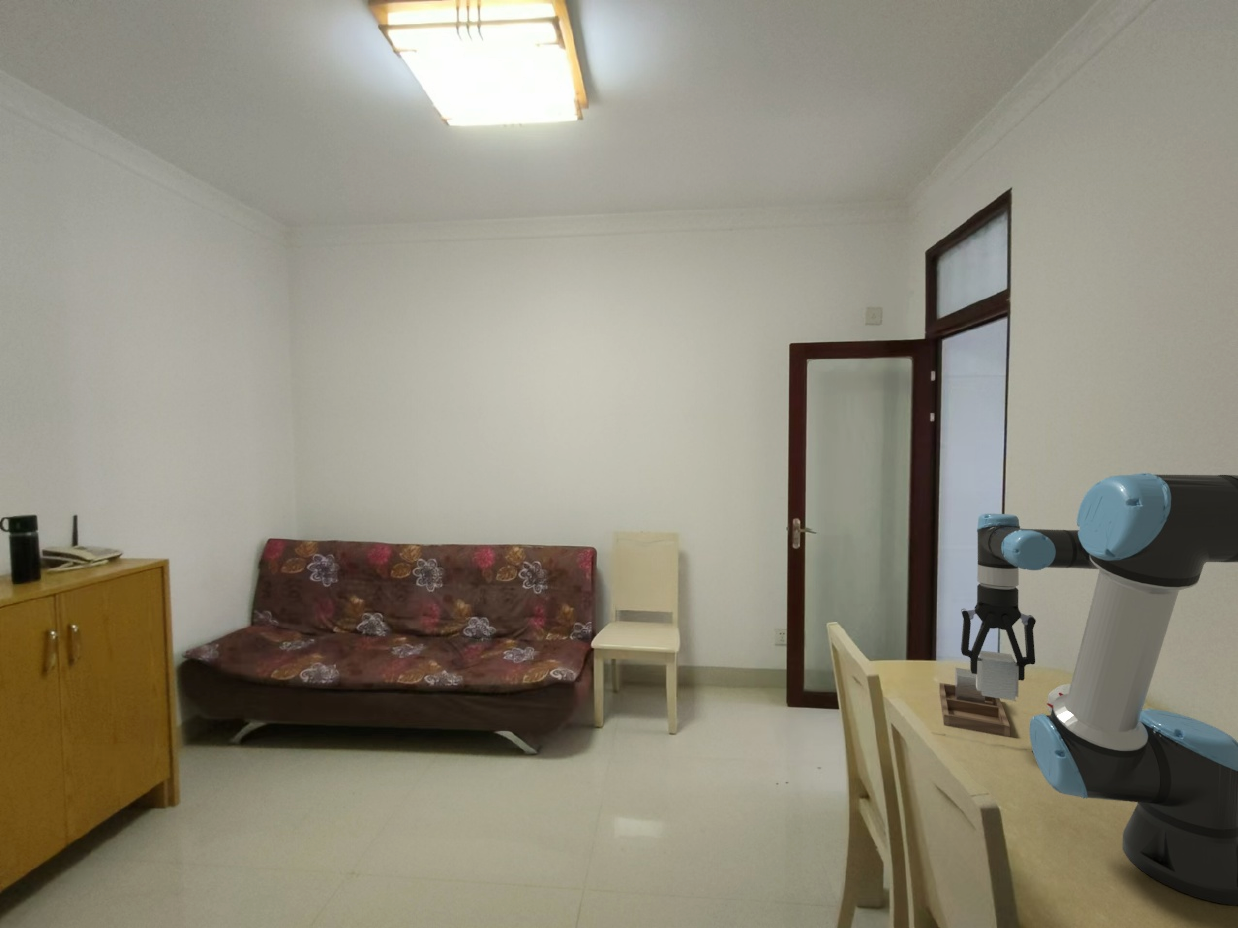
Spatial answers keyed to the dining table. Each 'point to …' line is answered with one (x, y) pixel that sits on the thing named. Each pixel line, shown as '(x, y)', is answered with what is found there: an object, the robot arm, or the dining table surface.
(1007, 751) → the dining table surface
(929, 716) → the dining table surface
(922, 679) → the dining table surface
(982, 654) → the block
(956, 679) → the block
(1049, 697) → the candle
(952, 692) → the wooden cubby shelf
